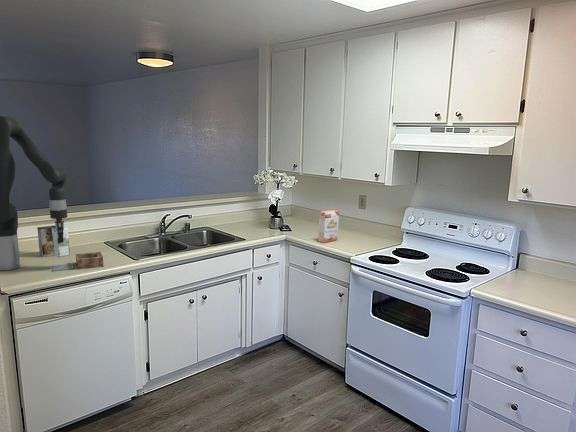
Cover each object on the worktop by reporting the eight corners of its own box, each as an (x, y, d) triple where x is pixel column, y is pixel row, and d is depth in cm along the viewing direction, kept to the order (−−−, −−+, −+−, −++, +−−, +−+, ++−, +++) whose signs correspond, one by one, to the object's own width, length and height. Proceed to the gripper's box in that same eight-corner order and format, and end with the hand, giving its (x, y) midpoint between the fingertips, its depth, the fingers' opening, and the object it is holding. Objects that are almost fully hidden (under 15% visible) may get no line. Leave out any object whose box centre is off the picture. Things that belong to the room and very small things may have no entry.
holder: (77, 269, 210) (77, 260, 210) (76, 263, 221) (75, 254, 220) (103, 266, 216) (102, 257, 216) (100, 260, 227) (100, 251, 226)
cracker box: (324, 243, 278) (325, 212, 275) (317, 241, 283) (319, 211, 279) (338, 240, 287) (339, 210, 284) (331, 239, 292) (333, 209, 288)
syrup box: (65, 253, 215) (63, 226, 213) (70, 255, 212) (68, 227, 209) (53, 255, 211) (51, 227, 208) (58, 257, 207) (56, 229, 205)
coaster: (52, 271, 206) (52, 270, 206) (52, 266, 214) (52, 265, 214) (73, 269, 211) (73, 268, 211) (72, 264, 218) (72, 263, 218)
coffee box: (57, 252, 241) (54, 225, 238) (60, 254, 236) (58, 226, 233) (39, 254, 234) (36, 227, 231) (42, 257, 230) (40, 228, 227)
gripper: (49, 206, 211) (52, 238, 214) (49, 211, 199) (52, 244, 202) (66, 205, 215) (68, 237, 218) (67, 210, 203) (69, 243, 206)
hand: (60, 240), depth 210 cm, fingers closed on syrup box, 7 cm apart
